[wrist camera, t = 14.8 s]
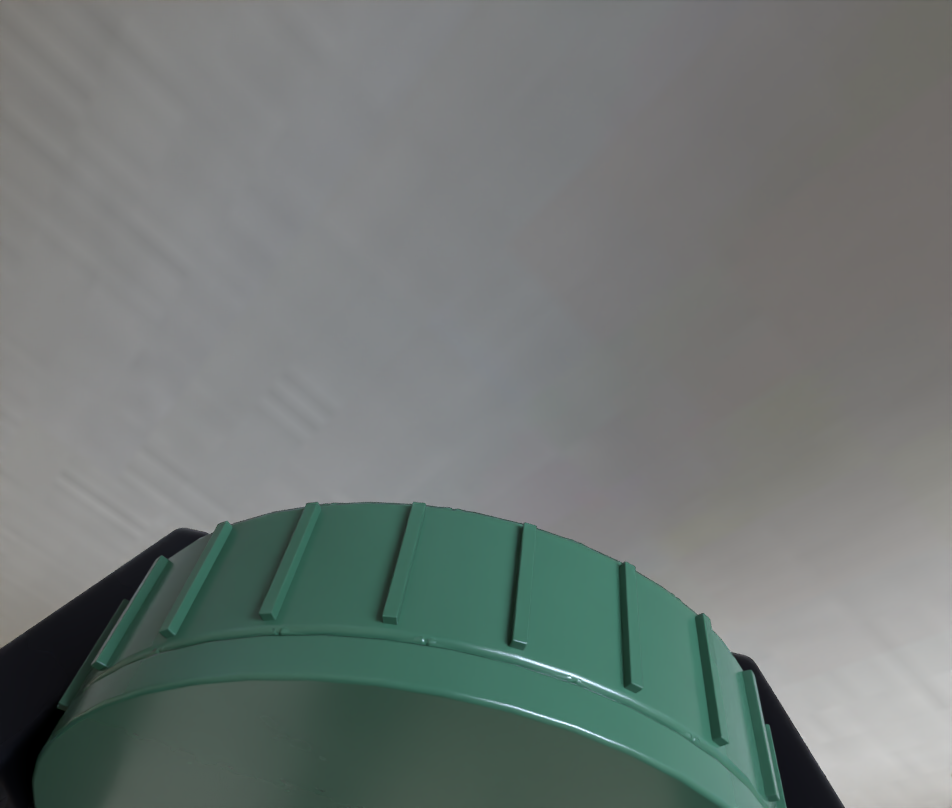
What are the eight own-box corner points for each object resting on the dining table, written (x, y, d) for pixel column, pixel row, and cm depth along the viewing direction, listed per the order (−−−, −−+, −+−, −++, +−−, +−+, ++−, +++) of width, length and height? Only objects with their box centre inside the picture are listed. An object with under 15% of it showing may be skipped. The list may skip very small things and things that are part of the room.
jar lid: (809, 856, 9) (848, 1036, 7) (315, 873, 11) (276, 1015, 9) (678, 411, 5) (707, 602, 4) (-19, 568, 7) (-153, 726, 6)
